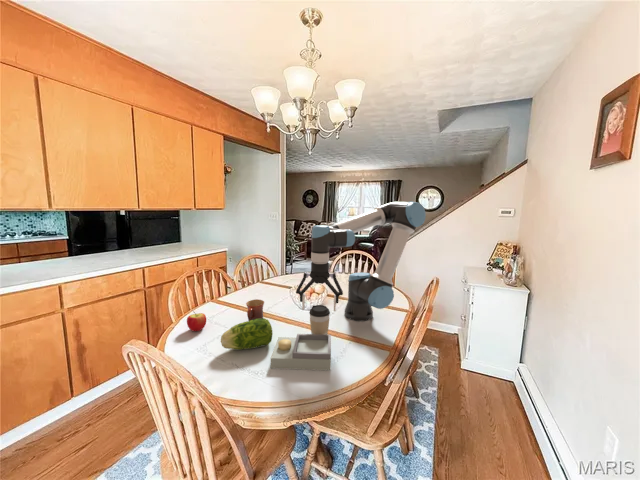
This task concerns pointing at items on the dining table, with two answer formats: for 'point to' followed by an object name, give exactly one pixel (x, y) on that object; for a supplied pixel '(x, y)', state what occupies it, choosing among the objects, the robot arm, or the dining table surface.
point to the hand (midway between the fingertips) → (319, 309)
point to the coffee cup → (319, 319)
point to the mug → (255, 309)
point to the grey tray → (302, 352)
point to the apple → (196, 321)
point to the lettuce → (248, 335)
